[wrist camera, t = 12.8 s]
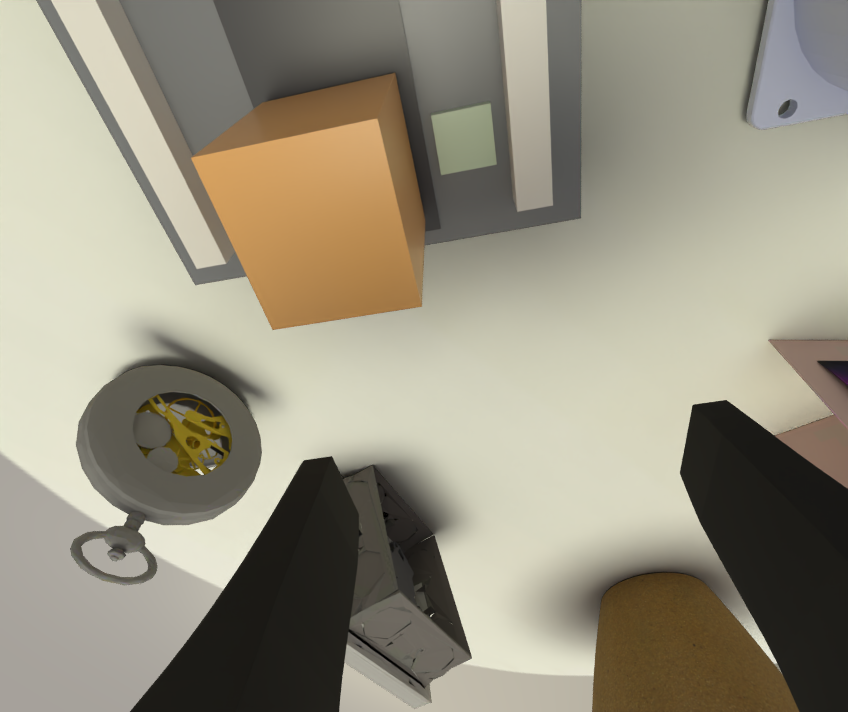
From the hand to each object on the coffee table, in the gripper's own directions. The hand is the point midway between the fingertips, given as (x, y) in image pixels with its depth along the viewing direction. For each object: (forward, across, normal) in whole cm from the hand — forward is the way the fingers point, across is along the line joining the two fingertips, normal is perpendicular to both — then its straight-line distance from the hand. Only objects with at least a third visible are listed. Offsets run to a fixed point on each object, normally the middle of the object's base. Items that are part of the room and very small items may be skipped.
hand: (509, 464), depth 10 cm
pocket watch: (+11, +14, +6) cm, 19 cm away
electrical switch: (+11, +7, +15) cm, 20 cm away
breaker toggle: (+8, +3, -4) cm, 9 cm away
